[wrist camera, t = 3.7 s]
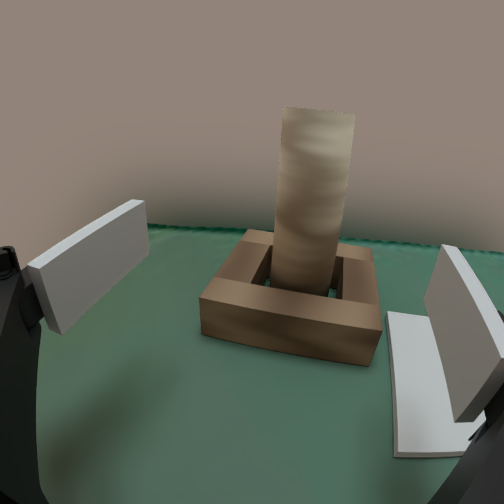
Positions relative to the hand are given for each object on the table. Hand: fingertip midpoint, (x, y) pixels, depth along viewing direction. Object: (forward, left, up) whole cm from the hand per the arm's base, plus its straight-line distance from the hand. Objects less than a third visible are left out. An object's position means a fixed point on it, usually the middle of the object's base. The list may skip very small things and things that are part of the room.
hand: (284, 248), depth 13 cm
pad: (-13, -2, -8) cm, 16 cm away
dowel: (0, -8, -8) cm, 12 cm away
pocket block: (0, -8, -8) cm, 12 cm away
